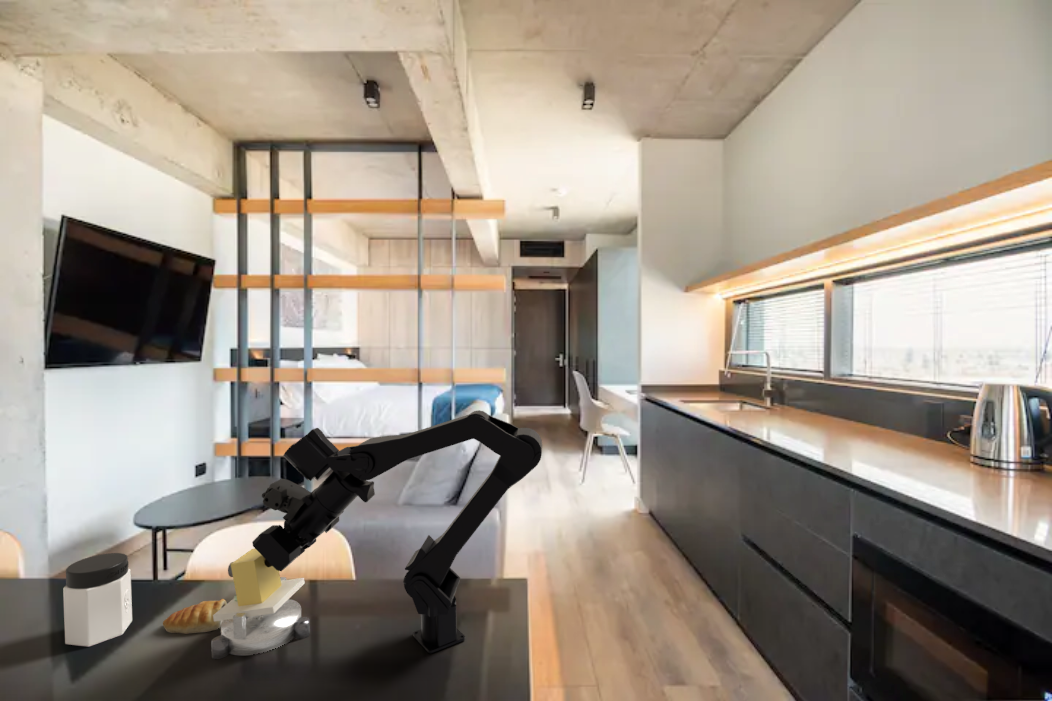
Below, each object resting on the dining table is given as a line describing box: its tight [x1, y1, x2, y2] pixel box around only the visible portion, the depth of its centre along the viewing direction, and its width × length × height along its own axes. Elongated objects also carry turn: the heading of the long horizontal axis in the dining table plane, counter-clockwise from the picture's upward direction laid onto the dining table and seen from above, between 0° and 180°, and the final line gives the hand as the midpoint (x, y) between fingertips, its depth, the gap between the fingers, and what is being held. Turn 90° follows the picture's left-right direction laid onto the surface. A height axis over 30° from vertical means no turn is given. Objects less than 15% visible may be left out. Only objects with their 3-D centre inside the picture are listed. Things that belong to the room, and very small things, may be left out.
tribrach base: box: [210, 576, 311, 660], centre depth 88 cm, size 14×14×6 cm
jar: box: [62, 552, 133, 647], centre depth 89 cm, size 9×8×12 cm
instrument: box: [213, 548, 306, 621], centre depth 88 cm, size 10×11×8 cm
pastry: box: [162, 598, 227, 635], centre depth 92 cm, size 9×7×4 cm
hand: (266, 564), depth 88 cm, fingers closed, pressing on instrument
